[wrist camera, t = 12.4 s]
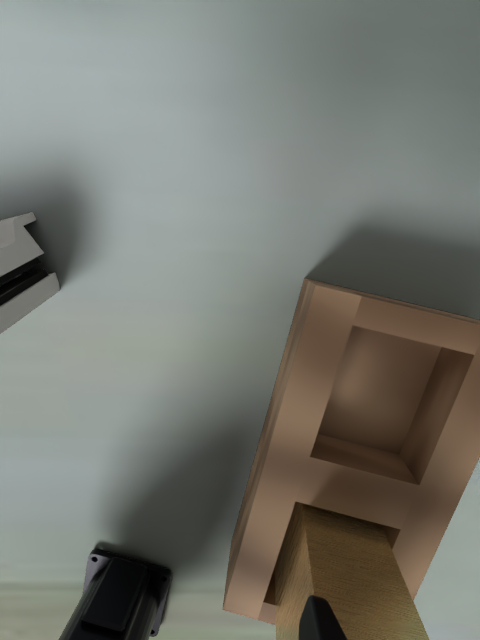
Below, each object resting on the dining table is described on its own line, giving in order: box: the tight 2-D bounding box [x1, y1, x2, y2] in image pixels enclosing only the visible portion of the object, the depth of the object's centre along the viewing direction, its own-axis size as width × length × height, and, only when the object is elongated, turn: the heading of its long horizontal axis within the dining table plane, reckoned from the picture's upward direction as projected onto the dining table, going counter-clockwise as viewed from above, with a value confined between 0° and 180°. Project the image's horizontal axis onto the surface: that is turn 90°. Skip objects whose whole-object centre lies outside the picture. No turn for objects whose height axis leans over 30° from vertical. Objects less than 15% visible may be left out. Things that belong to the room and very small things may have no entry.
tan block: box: [275, 502, 429, 640], centre depth 15 cm, size 6×4×9 cm
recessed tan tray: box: [223, 278, 480, 625], centre depth 18 cm, size 20×10×4 cm, turn 167°
